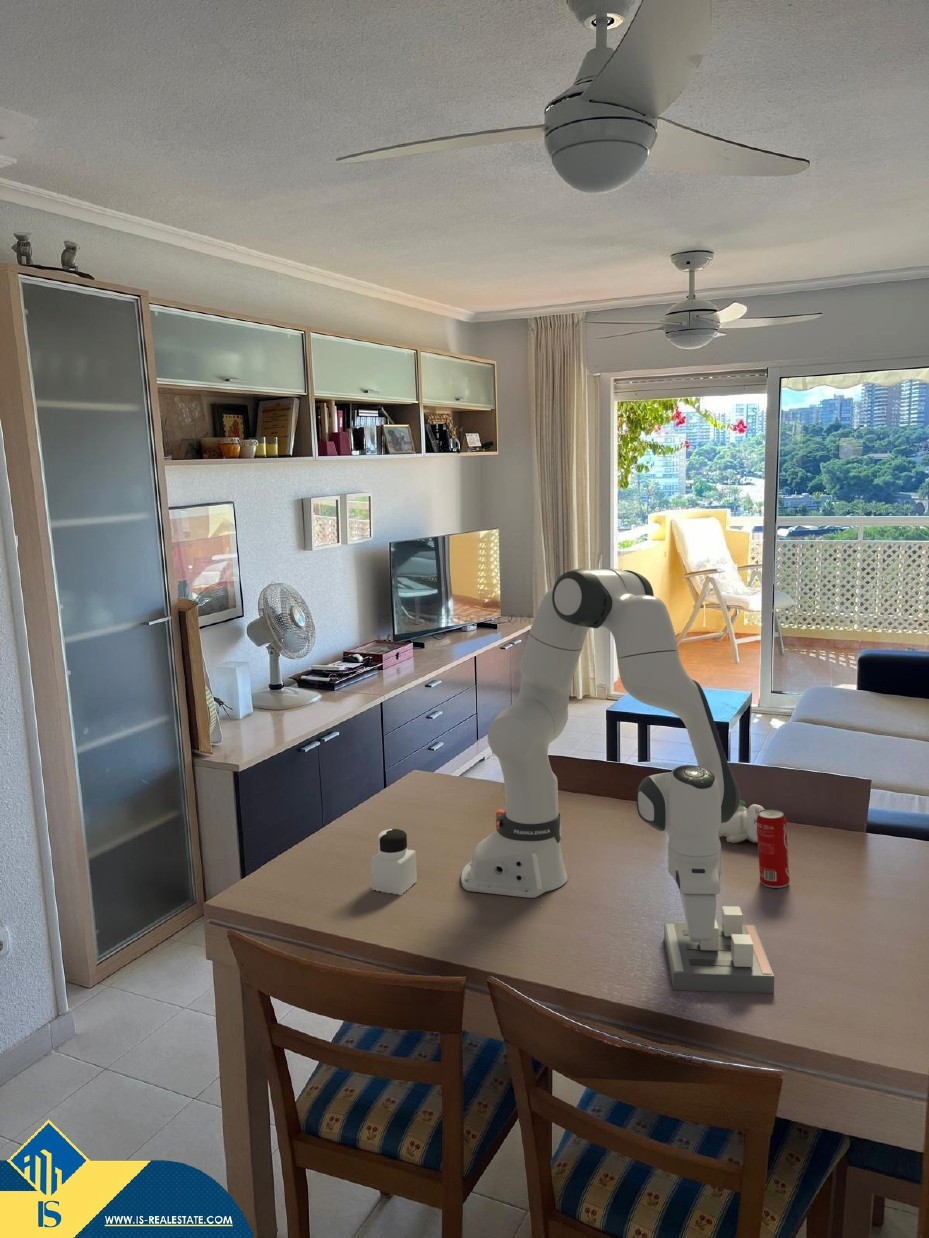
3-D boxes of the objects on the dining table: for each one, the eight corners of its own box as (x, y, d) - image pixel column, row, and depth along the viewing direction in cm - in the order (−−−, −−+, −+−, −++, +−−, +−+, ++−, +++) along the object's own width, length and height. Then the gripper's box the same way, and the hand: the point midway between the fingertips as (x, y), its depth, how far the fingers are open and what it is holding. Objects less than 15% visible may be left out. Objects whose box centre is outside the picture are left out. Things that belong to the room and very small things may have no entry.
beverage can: (791, 889, 184) (792, 819, 181) (757, 888, 185) (758, 817, 183) (787, 877, 189) (788, 808, 187) (754, 875, 191) (755, 807, 188)
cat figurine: (710, 798, 210) (778, 797, 204) (717, 805, 217) (783, 805, 211) (711, 840, 207) (780, 841, 200) (718, 846, 213) (785, 847, 207)
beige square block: (700, 949, 156) (700, 927, 155) (698, 940, 159) (698, 918, 158) (718, 950, 155) (718, 928, 155) (715, 940, 158) (715, 919, 158)
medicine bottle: (417, 881, 194) (415, 828, 192) (401, 896, 188) (398, 840, 186) (388, 876, 197) (385, 823, 195) (371, 890, 191) (368, 836, 189)
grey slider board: (673, 989, 150) (673, 972, 150) (664, 937, 167) (663, 922, 166) (774, 993, 148) (774, 975, 148) (754, 940, 165) (754, 924, 164)
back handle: (724, 935, 160) (724, 914, 159) (721, 927, 163) (722, 906, 163) (742, 936, 160) (742, 915, 159) (739, 927, 163) (739, 906, 162)
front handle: (734, 966, 150) (734, 943, 150) (731, 956, 153) (731, 933, 153) (752, 966, 150) (753, 944, 149) (749, 956, 153) (749, 934, 152)
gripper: (669, 838, 166) (670, 909, 168) (681, 888, 145) (681, 968, 148) (705, 838, 165) (705, 910, 167) (722, 889, 145) (721, 970, 147)
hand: (694, 938), depth 157 cm, fingers closed, pressing on beige square block
